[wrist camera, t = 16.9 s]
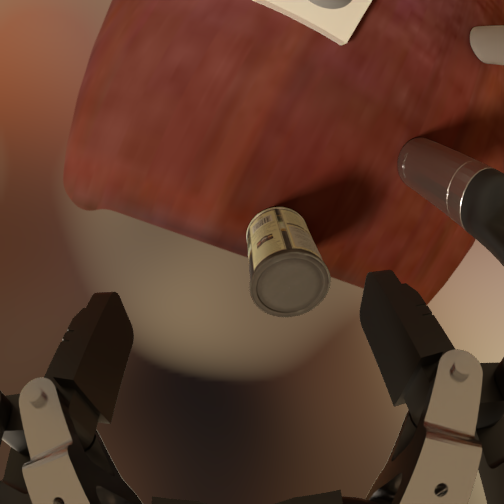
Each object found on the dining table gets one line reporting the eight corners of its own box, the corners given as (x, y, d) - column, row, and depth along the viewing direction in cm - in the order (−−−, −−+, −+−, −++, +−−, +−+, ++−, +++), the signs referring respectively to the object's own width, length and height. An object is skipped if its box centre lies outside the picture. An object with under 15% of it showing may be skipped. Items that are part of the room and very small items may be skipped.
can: (461, 37, 30) (507, 36, 20) (477, 20, 27) (521, 18, 17) (481, 70, 33) (527, 76, 22) (496, 52, 30) (540, 56, 20)
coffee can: (288, 269, 53) (302, 326, 40) (235, 247, 50) (235, 303, 38) (319, 222, 48) (346, 271, 36) (264, 195, 45) (275, 239, 33)
